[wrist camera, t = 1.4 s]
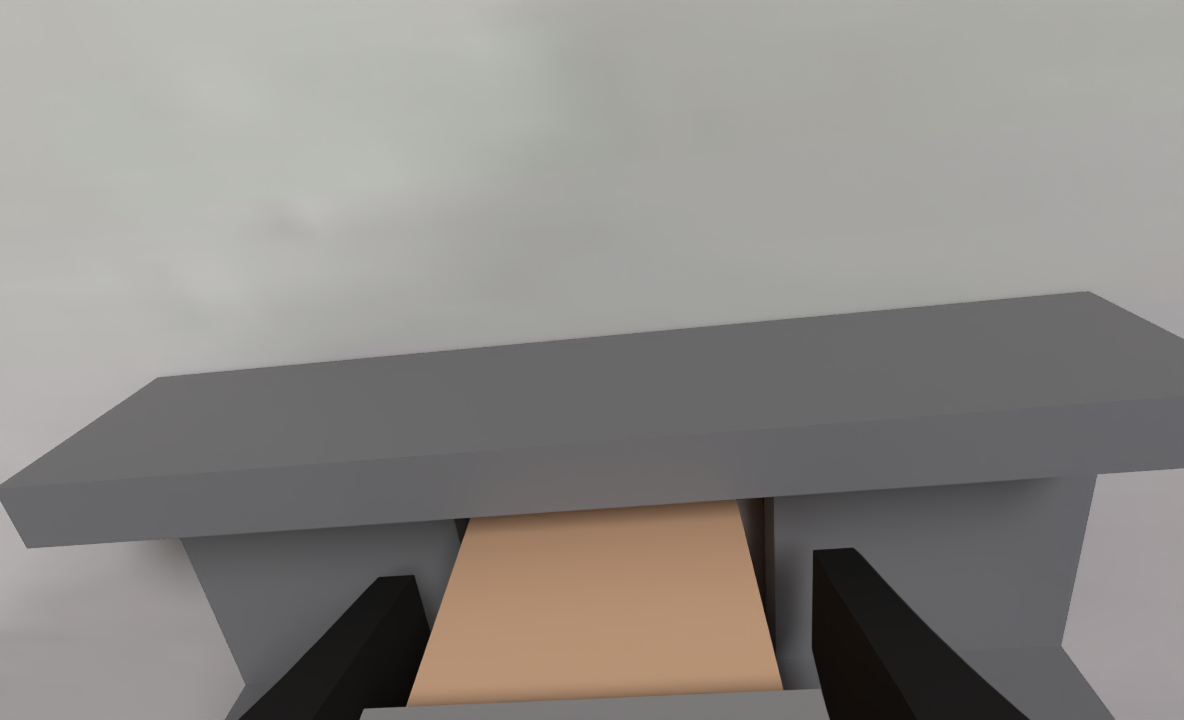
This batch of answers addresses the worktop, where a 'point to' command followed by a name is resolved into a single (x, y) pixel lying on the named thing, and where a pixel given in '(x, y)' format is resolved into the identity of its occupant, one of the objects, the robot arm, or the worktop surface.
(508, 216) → the worktop surface
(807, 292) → the worktop surface
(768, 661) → the plug
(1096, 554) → the worktop surface
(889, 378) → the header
